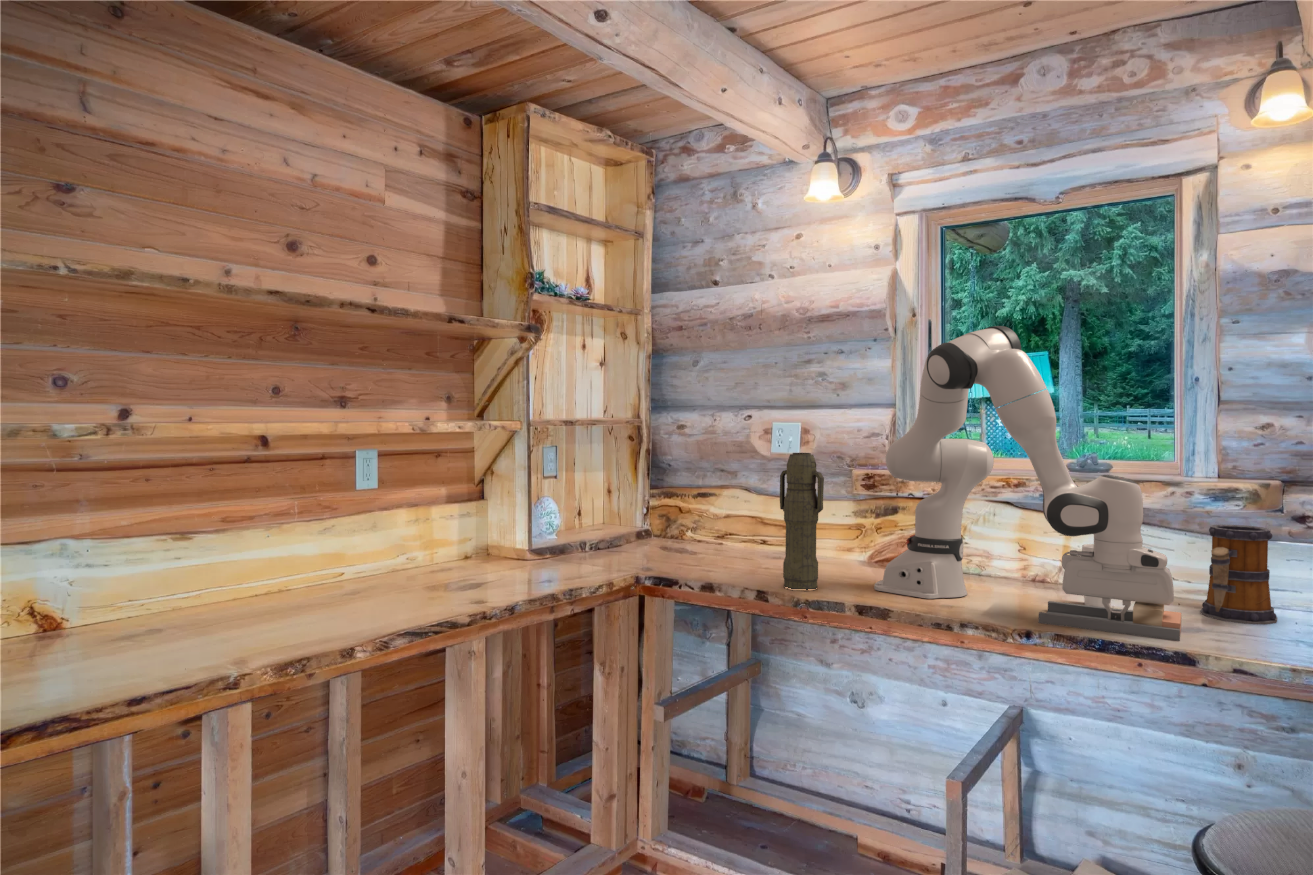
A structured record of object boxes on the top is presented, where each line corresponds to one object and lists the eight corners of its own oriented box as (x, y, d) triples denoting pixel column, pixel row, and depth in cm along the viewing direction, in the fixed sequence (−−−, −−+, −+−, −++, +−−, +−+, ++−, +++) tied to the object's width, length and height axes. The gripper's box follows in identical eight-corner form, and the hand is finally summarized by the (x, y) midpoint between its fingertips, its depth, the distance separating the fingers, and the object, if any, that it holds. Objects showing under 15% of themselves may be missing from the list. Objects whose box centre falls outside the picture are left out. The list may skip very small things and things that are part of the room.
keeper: (1132, 632, 166) (1133, 607, 166) (1135, 622, 174) (1136, 599, 174) (1161, 635, 164) (1162, 610, 164) (1163, 626, 171) (1164, 602, 171)
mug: (1254, 631, 174) (1256, 535, 173) (1178, 617, 185) (1180, 528, 185) (1288, 618, 185) (1290, 528, 184) (1215, 606, 197) (1216, 521, 196)
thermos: (817, 593, 209) (818, 454, 208) (773, 588, 215) (774, 453, 214) (828, 587, 217) (829, 453, 216) (785, 582, 223) (786, 451, 222)
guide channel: (1038, 629, 174) (1038, 608, 174) (1048, 616, 186) (1049, 596, 186) (1179, 648, 160) (1180, 625, 160) (1181, 632, 172) (1181, 611, 172)
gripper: (1059, 551, 175) (1058, 616, 176) (1174, 561, 164) (1172, 630, 164) (1064, 547, 180) (1062, 610, 181) (1175, 556, 169) (1173, 624, 170)
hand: (1116, 620), depth 173 cm, fingers closed
